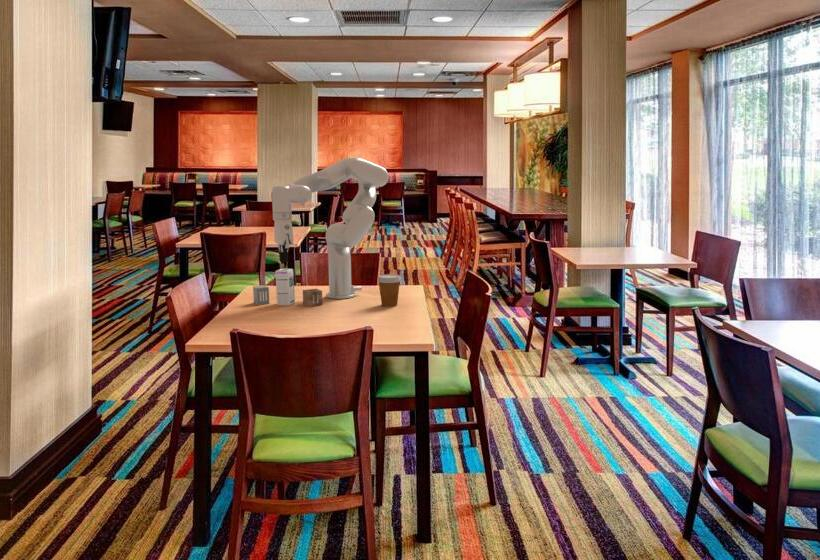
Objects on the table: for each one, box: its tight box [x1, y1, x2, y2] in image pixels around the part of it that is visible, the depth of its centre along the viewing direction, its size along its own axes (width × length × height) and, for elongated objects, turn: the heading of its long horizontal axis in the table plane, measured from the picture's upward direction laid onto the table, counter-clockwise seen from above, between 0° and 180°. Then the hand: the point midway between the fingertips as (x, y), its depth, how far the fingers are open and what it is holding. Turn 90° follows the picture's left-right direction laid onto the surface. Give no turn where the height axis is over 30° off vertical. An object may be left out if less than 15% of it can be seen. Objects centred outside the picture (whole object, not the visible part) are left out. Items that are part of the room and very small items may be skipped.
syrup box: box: [274, 268, 296, 307], centre depth 297 cm, size 6×6×14 cm
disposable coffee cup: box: [376, 273, 402, 307], centre depth 293 cm, size 10×10×12 cm
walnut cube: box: [302, 288, 323, 308], centre depth 296 cm, size 6×6×6 cm
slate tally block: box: [252, 285, 270, 306], centre depth 299 cm, size 5×5×7 cm
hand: (283, 261), depth 295 cm, fingers closed
